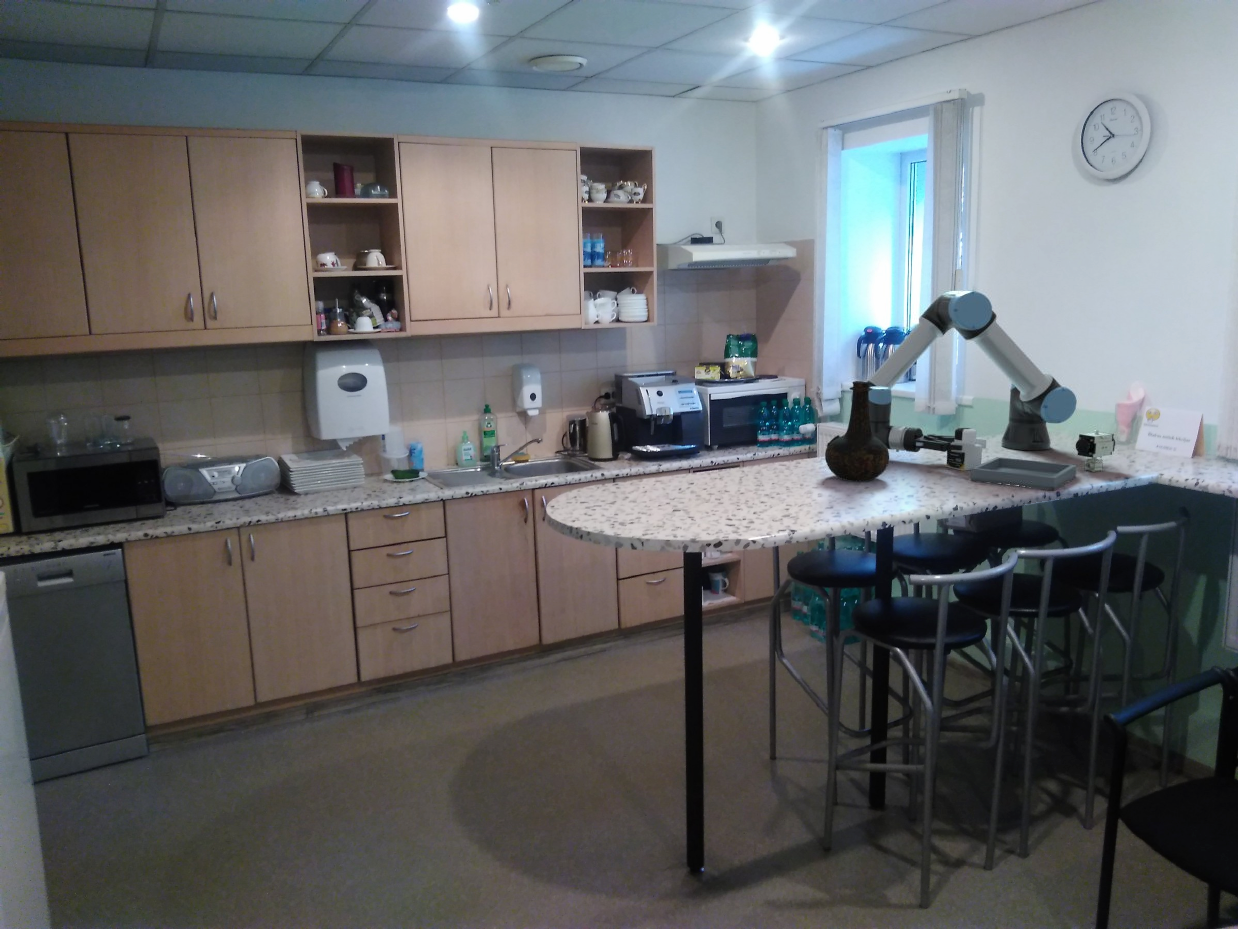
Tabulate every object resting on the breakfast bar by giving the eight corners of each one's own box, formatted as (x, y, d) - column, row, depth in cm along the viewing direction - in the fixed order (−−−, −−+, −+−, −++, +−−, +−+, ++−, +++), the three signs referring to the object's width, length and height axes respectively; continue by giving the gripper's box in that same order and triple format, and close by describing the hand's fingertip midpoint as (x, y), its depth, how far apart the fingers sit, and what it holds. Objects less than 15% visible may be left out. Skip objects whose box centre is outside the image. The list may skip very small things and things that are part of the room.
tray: (996, 468, 274) (996, 456, 273) (1075, 477, 260) (1076, 465, 259) (970, 480, 257) (971, 468, 257) (1053, 491, 243) (1055, 478, 243)
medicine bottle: (945, 467, 277) (947, 427, 275) (963, 464, 280) (965, 426, 277) (963, 471, 270) (966, 431, 268) (981, 468, 273) (984, 429, 271)
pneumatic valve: (1072, 471, 268) (1076, 430, 266) (1099, 467, 274) (1102, 427, 271) (1089, 474, 264) (1093, 433, 261) (1116, 470, 269) (1120, 430, 266)
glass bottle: (835, 470, 274) (838, 377, 269) (895, 475, 265) (900, 379, 260) (815, 481, 259) (818, 382, 254) (878, 487, 250) (883, 385, 245)
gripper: (919, 446, 294) (991, 453, 280) (891, 456, 278) (966, 464, 263) (921, 423, 293) (993, 429, 279) (892, 431, 276) (967, 438, 262)
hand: (980, 446), depth 271 cm, fingers closed on medicine bottle, 9 cm apart
